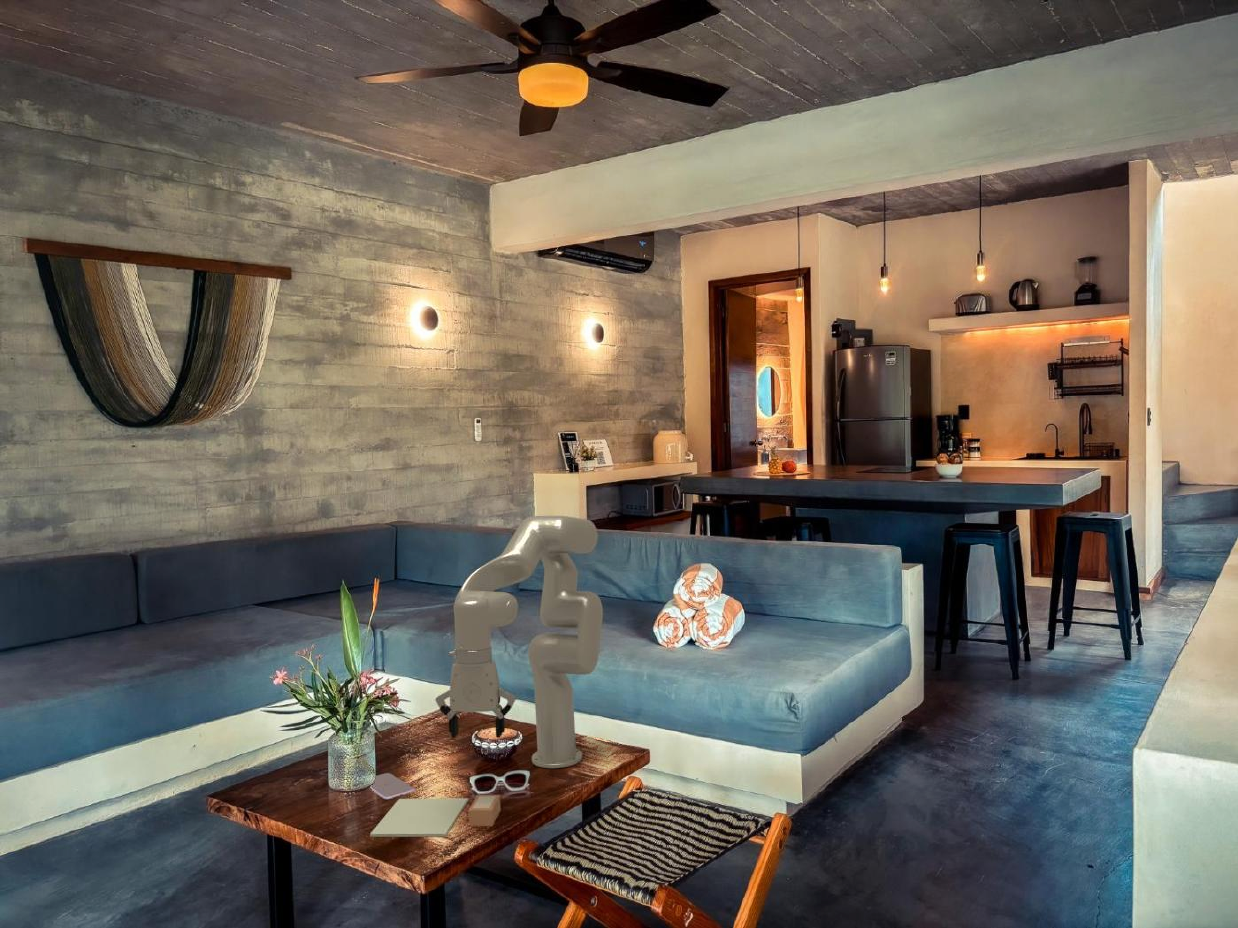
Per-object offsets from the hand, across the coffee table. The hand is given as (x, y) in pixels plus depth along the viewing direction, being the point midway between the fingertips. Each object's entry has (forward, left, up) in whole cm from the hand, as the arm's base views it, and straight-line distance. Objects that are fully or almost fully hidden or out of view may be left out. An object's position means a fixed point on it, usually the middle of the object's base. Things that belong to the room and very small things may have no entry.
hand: (477, 735), depth 197 cm
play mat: (0, -13, -18) cm, 22 cm away
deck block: (0, +1, -18) cm, 18 cm away
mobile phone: (-18, -27, -18) cm, 37 cm away
